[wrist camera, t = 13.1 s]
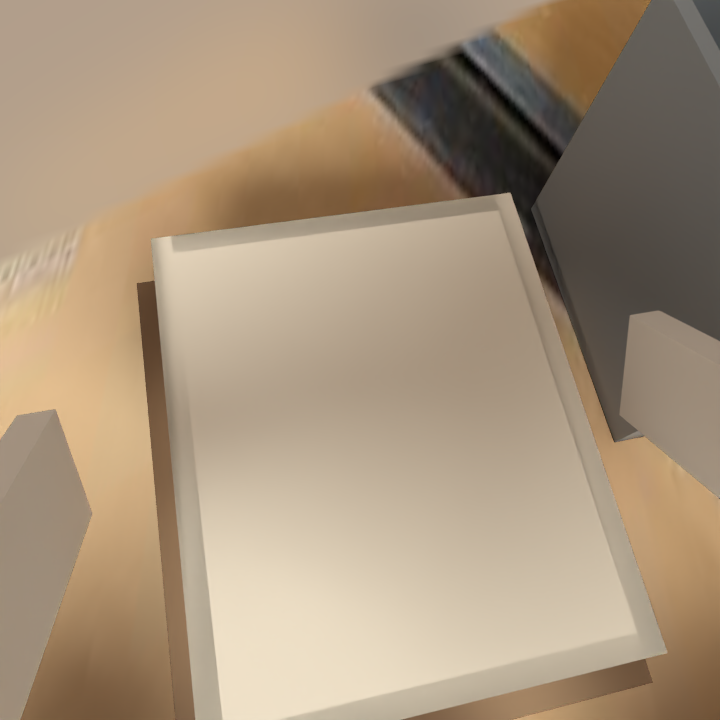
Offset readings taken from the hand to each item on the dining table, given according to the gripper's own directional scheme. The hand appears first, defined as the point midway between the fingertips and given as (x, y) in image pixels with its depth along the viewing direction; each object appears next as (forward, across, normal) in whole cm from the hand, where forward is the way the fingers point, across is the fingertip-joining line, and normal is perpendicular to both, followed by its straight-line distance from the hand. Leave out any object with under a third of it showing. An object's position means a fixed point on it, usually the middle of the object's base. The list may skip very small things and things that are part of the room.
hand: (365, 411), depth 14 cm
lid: (+3, 0, -4) cm, 5 cm away
